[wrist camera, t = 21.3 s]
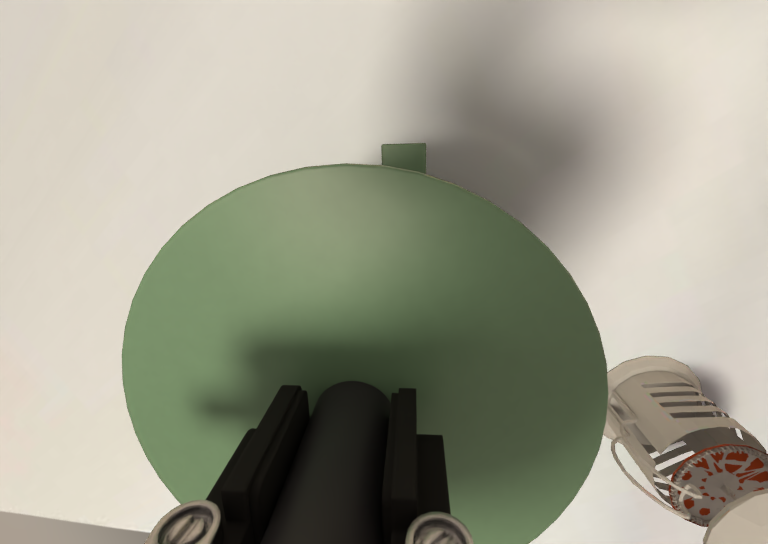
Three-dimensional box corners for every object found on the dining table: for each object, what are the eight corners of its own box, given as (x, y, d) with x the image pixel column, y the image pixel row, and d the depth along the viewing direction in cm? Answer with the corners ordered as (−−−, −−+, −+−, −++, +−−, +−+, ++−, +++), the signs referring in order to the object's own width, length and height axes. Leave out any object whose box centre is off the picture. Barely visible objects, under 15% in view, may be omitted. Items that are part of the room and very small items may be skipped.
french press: (673, 456, 37) (1136, 996, 13) (556, 428, 37) (806, 913, 13) (722, 370, 34) (1429, 862, 10) (595, 339, 34) (1003, 757, 10)
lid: (185, 547, 16) (37, 798, 10) (100, 168, 12) (-264, 180, 6) (563, 570, 15) (672, 872, 9) (627, 157, 11) (944, 158, 4)
